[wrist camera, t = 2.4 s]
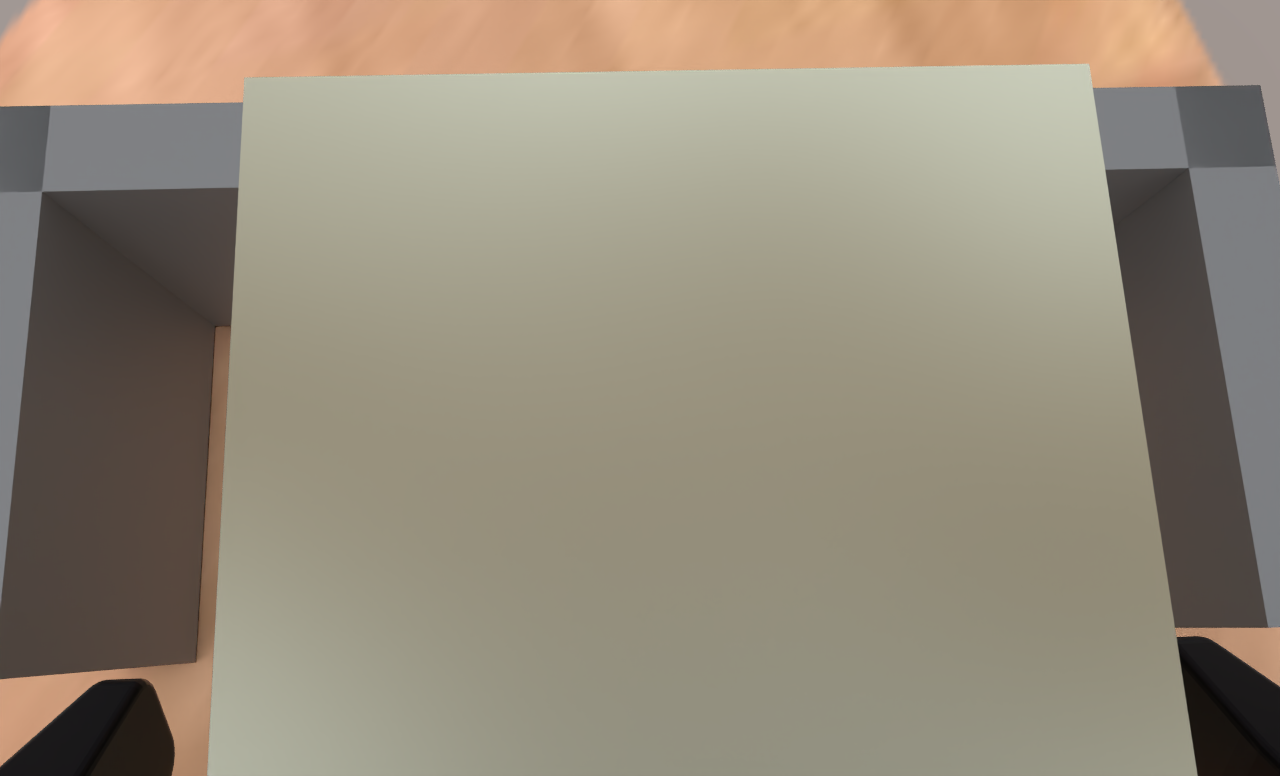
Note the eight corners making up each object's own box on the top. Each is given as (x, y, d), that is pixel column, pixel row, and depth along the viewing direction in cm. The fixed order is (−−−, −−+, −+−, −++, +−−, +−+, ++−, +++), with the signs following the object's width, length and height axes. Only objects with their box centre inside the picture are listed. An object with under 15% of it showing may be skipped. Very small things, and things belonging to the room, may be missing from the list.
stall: (1120, 624, 18) (1364, 623, 12) (124, 665, 18) (-115, 684, 12) (1067, 244, 20) (1259, 85, 14) (152, 265, 19) (-45, 107, 13)
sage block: (780, 728, 18) (1229, 983, 5) (489, 741, 17) (193, 1038, 5) (762, 442, 19) (1089, 63, 6) (487, 451, 19) (243, 77, 6)
